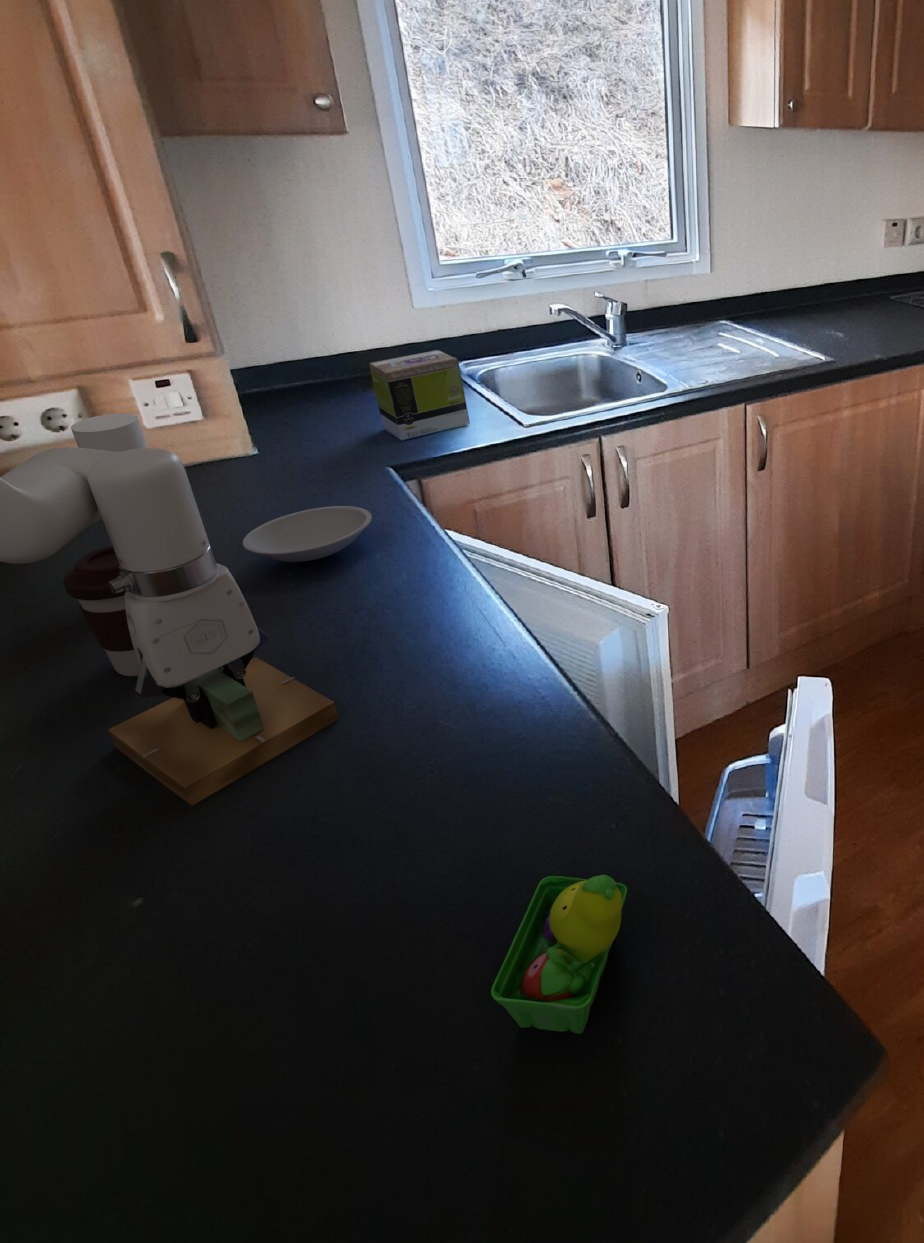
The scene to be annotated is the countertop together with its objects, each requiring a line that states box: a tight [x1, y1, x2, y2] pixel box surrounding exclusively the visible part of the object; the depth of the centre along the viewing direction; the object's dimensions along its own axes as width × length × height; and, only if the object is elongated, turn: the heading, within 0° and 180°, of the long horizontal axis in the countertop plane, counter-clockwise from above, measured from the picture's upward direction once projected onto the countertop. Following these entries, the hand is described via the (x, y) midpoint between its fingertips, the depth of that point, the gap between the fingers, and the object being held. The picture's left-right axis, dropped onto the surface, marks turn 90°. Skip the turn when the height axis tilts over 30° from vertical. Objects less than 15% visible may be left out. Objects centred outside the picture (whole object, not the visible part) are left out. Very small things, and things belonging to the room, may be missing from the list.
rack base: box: [107, 656, 340, 807], centre depth 96 cm, size 16×16×3 cm
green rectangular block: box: [183, 668, 264, 742], centre depth 94 cm, size 12×3×5 cm, turn 57°
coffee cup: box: [62, 545, 140, 677], centre depth 105 cm, size 10×10×15 cm
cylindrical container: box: [70, 412, 149, 452], centre depth 118 cm, size 7×7×25 cm
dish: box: [242, 505, 373, 563], centre depth 131 cm, size 18×14×5 cm
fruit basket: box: [490, 874, 628, 1035], centre depth 68 cm, size 11×9×11 cm
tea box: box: [368, 349, 471, 441], centre depth 180 cm, size 15×10×15 cm, turn 133°
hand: (222, 713), depth 95 cm, fingers closed on green rectangular block, 2 cm apart
